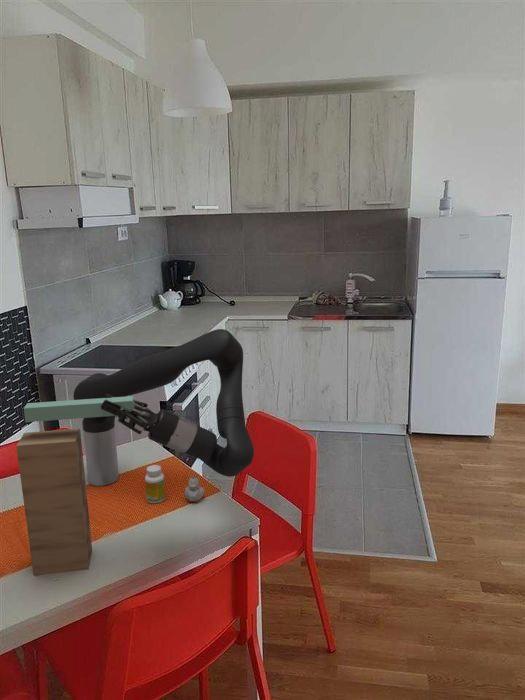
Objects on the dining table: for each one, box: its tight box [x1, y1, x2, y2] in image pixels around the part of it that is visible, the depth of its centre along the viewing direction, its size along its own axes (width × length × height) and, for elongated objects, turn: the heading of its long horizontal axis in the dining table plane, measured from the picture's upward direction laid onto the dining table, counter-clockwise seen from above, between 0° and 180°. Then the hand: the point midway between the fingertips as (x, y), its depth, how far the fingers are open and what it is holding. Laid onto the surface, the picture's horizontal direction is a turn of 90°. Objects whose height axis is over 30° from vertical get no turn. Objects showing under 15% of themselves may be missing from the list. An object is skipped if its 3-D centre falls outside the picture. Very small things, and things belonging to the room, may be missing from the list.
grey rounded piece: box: [184, 475, 205, 502], centre depth 151 cm, size 5×7×8 cm
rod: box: [23, 395, 135, 423], centre depth 118 cm, size 3×23×3 cm, turn 100°
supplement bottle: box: [144, 464, 166, 504], centre depth 151 cm, size 5×5×10 cm
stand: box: [16, 428, 93, 576], centre depth 121 cm, size 7×12×32 cm, turn 100°
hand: (103, 401), depth 118 cm, fingers closed on rod, 3 cm apart
